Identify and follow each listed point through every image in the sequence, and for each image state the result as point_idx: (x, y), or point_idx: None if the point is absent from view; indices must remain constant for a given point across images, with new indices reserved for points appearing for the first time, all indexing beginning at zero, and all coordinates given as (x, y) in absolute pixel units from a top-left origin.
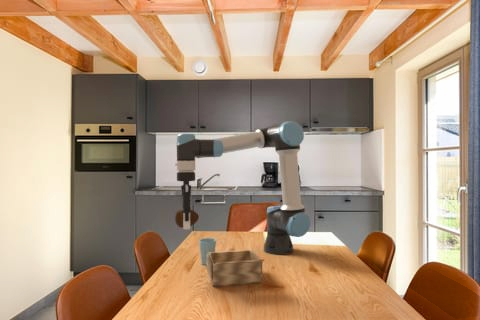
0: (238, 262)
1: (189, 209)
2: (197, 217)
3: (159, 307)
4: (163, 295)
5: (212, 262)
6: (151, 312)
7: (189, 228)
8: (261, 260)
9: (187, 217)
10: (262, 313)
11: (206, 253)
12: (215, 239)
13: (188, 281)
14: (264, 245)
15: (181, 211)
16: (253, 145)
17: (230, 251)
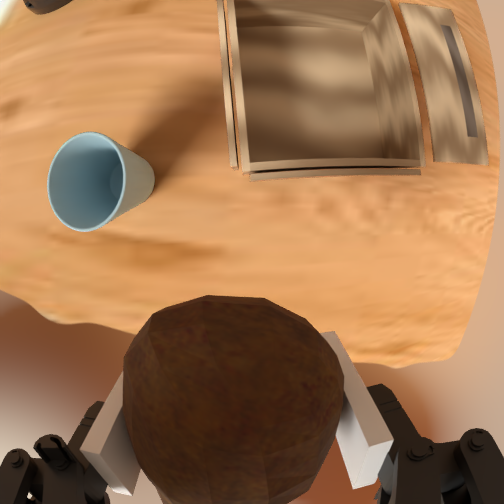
0: (475, 88)
1: (492, 447)
2: (292, 318)
3: (454, 302)
4: (407, 307)
5: (400, 164)
6: (464, 312)
7: (335, 339)
8: (453, 18)
9: (397, 416)
10: (494, 101)
11: (142, 184)
12: (75, 137)
13: (327, 248)
14: (46, 2)
15: None
16: None
17: (232, 60)
